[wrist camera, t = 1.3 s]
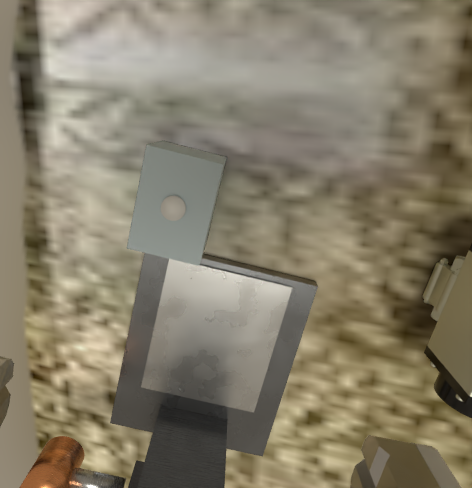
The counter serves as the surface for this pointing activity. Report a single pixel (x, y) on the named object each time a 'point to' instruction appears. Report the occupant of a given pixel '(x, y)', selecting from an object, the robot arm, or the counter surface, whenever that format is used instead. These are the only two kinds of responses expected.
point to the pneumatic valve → (452, 331)
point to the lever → (66, 468)
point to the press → (207, 364)
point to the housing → (175, 201)
